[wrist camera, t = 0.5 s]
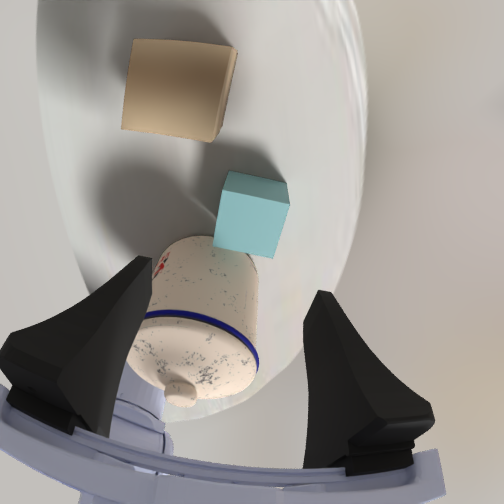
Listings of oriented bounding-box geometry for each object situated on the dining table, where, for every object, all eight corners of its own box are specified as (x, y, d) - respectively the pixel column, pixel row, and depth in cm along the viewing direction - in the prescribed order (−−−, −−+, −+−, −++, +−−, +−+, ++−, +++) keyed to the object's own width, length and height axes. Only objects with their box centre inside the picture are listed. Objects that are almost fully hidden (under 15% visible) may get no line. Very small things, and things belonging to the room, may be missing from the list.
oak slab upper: (219, 132, 16) (211, 142, 14) (139, 120, 16) (121, 129, 14) (237, 50, 13) (231, 47, 11) (151, 41, 13) (133, 38, 11)
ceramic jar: (151, 225, 22) (86, 343, 13) (267, 236, 23) (267, 371, 13) (165, 327, 29) (135, 429, 20) (253, 337, 29) (247, 446, 20)
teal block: (272, 230, 22) (272, 258, 20) (219, 220, 22) (212, 246, 19) (286, 182, 20) (289, 204, 17) (229, 170, 20) (222, 189, 17)
